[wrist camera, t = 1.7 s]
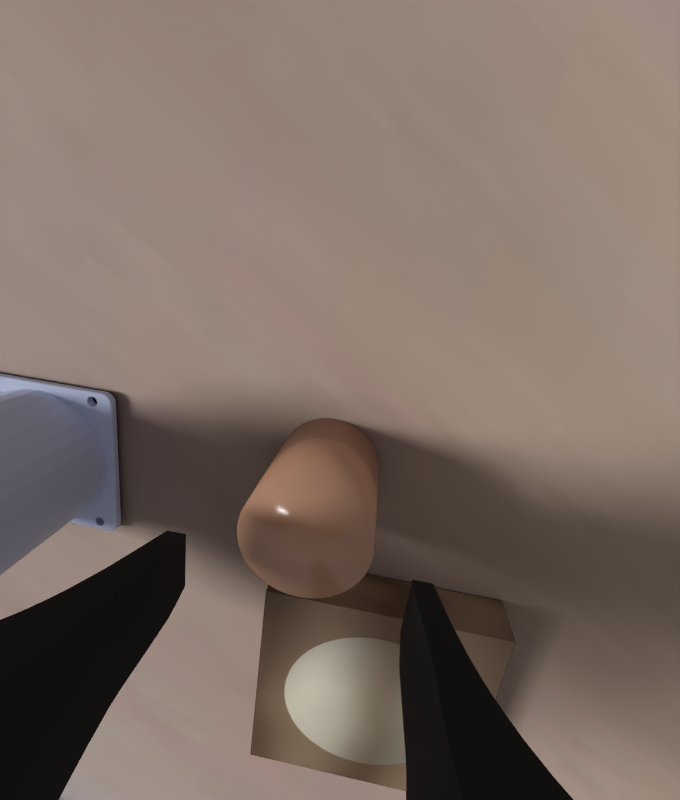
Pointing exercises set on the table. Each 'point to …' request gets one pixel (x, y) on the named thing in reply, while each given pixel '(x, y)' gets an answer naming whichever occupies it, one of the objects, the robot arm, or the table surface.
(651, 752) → the table surface
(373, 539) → the terracotta cylinder
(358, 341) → the table surface
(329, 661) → the plinth
